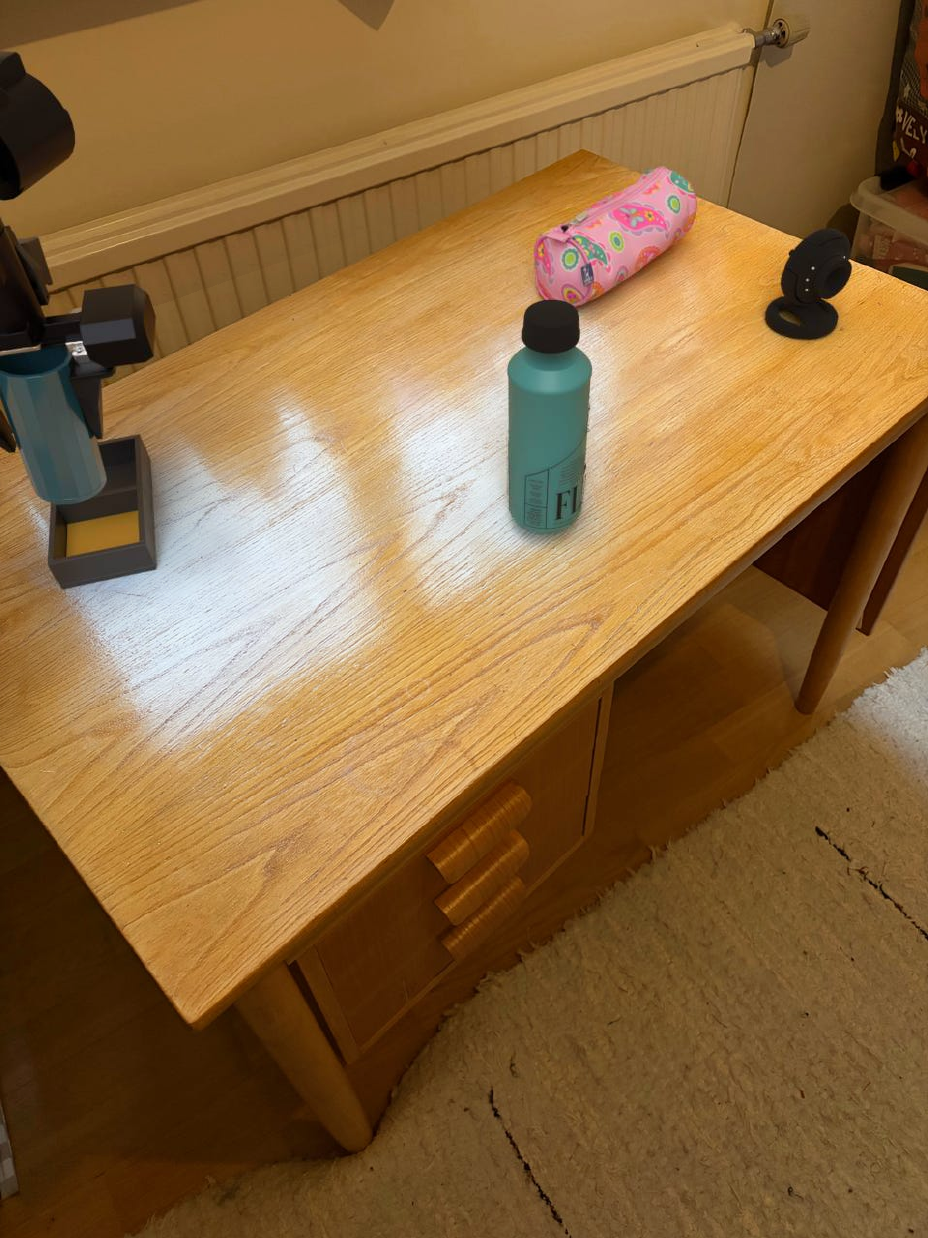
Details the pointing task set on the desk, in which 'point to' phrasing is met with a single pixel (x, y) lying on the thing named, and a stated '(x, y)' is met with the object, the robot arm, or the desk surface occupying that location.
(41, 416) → the cup
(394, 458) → the desk surface
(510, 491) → the beverage bottle
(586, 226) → the pencil case
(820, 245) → the webcam
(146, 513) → the holder
